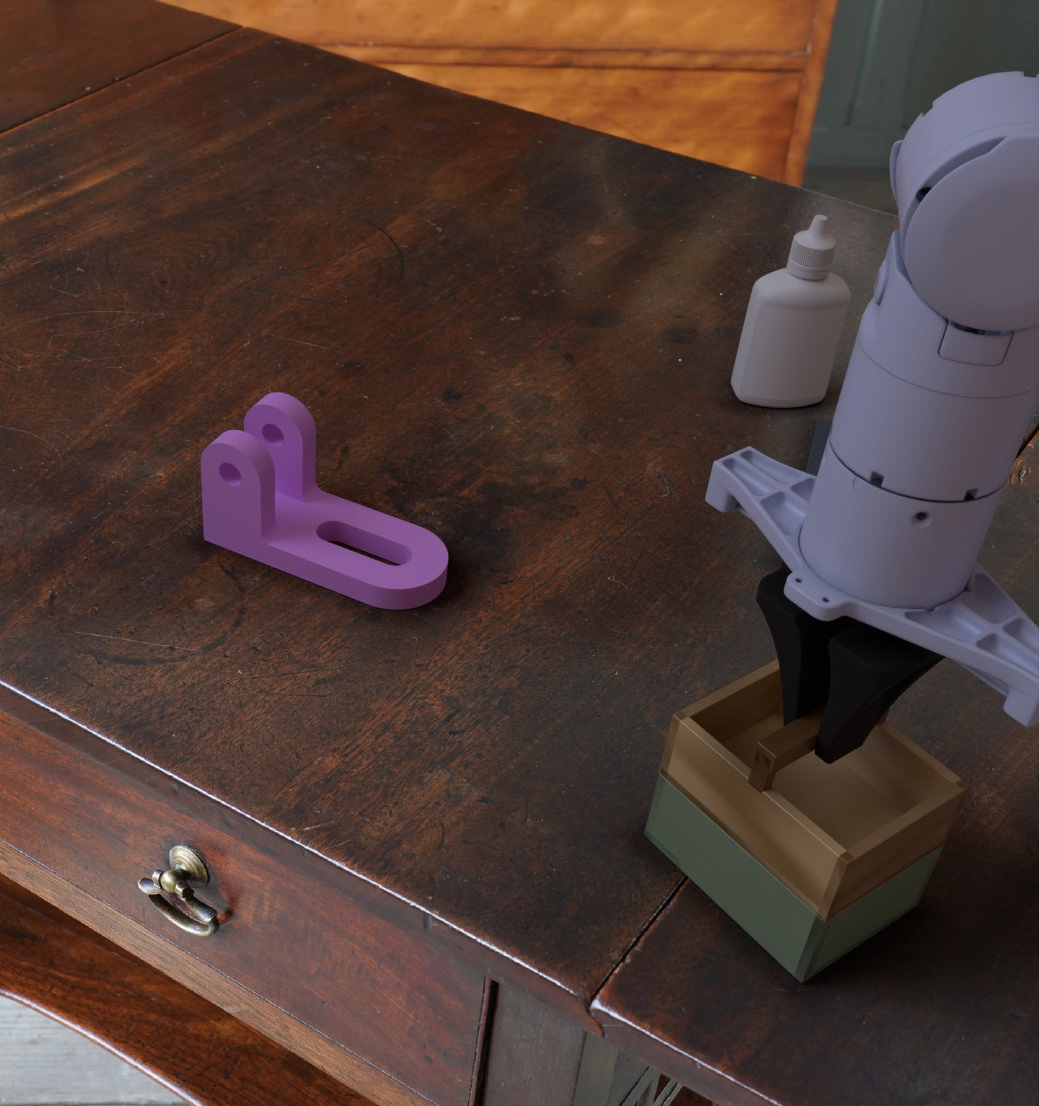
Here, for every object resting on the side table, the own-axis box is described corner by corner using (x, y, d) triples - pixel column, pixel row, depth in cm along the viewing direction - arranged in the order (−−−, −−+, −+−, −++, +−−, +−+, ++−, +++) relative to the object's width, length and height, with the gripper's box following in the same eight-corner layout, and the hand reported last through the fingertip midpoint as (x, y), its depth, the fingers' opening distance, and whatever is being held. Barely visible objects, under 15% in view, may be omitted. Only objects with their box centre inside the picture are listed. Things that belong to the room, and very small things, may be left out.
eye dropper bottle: (813, 423, 88) (863, 244, 81) (722, 399, 90) (762, 221, 83) (829, 389, 91) (879, 213, 84) (740, 366, 93) (781, 192, 86)
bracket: (204, 539, 79) (199, 434, 75) (258, 487, 83) (257, 383, 78) (416, 623, 74) (424, 515, 70) (464, 563, 78) (475, 457, 73)
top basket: (945, 844, 58) (987, 749, 55) (825, 923, 55) (861, 828, 52) (775, 708, 64) (803, 614, 60) (658, 772, 61) (680, 678, 57)
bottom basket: (917, 906, 61) (945, 844, 58) (801, 984, 58) (825, 922, 55) (756, 770, 66) (775, 708, 64) (643, 834, 63) (658, 772, 61)
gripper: (674, 386, 51) (618, 665, 60) (1032, 617, 42) (905, 909, 50) (812, 330, 54) (740, 604, 63) (1176, 535, 45) (1032, 824, 53)
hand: (822, 736), depth 57 cm, fingers closed on top basket
